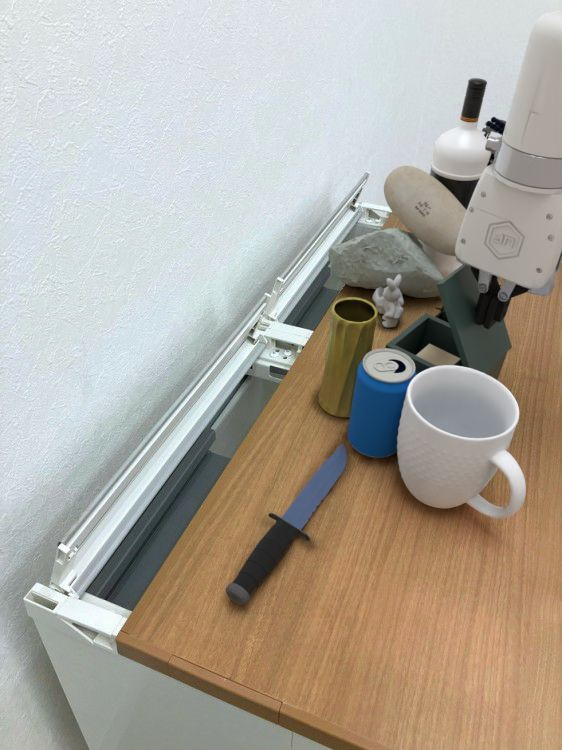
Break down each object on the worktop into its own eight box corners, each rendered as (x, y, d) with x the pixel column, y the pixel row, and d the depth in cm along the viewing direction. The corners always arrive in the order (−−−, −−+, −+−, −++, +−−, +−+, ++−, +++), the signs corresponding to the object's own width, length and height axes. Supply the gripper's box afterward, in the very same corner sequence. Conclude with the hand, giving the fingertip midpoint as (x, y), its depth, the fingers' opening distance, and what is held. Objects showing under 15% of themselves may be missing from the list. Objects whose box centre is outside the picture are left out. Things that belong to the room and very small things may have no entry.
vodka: (398, 258, 107) (432, 71, 88) (444, 250, 110) (487, 68, 91) (424, 285, 101) (468, 91, 81) (473, 277, 104) (526, 87, 84)
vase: (346, 425, 76) (360, 332, 67) (308, 401, 79) (316, 309, 70) (375, 401, 80) (392, 309, 70) (338, 379, 83) (349, 288, 73)
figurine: (373, 303, 98) (383, 256, 94) (405, 312, 97) (418, 265, 92) (361, 323, 92) (372, 274, 87) (396, 333, 91) (408, 283, 86)
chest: (376, 391, 81) (385, 344, 76) (415, 358, 87) (426, 312, 82) (455, 435, 76) (470, 388, 70) (491, 397, 81) (508, 350, 76)
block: (453, 385, 81) (461, 358, 78) (435, 403, 79) (442, 375, 76) (422, 370, 84) (429, 343, 81) (404, 386, 81) (410, 359, 78)
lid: (436, 284, 67) (442, 283, 66) (477, 252, 73) (484, 251, 72) (468, 385, 70) (475, 385, 70) (506, 347, 76) (512, 347, 76)
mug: (535, 520, 66) (578, 435, 58) (465, 571, 61) (501, 486, 53) (435, 435, 75) (459, 351, 67) (366, 473, 70) (383, 388, 62)
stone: (453, 143, 86) (472, 249, 86) (467, 153, 92) (485, 252, 93) (375, 171, 93) (393, 269, 93) (393, 179, 99) (410, 271, 99)
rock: (441, 303, 100) (435, 247, 103) (454, 265, 87) (446, 202, 90) (331, 311, 102) (328, 256, 104) (328, 275, 88) (324, 213, 91)
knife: (261, 608, 55) (215, 577, 56) (256, 620, 56) (212, 590, 58) (370, 450, 72) (333, 429, 73) (364, 463, 74) (328, 442, 75)
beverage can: (408, 459, 72) (428, 381, 65) (354, 464, 71) (368, 386, 64) (391, 420, 77) (408, 343, 69) (341, 424, 76) (352, 347, 68)
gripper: (447, 151, 60) (413, 309, 72) (603, 200, 53) (536, 366, 65) (483, 132, 64) (445, 284, 76) (631, 175, 57) (564, 334, 69)
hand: (487, 321), depth 70 cm, fingers closed
